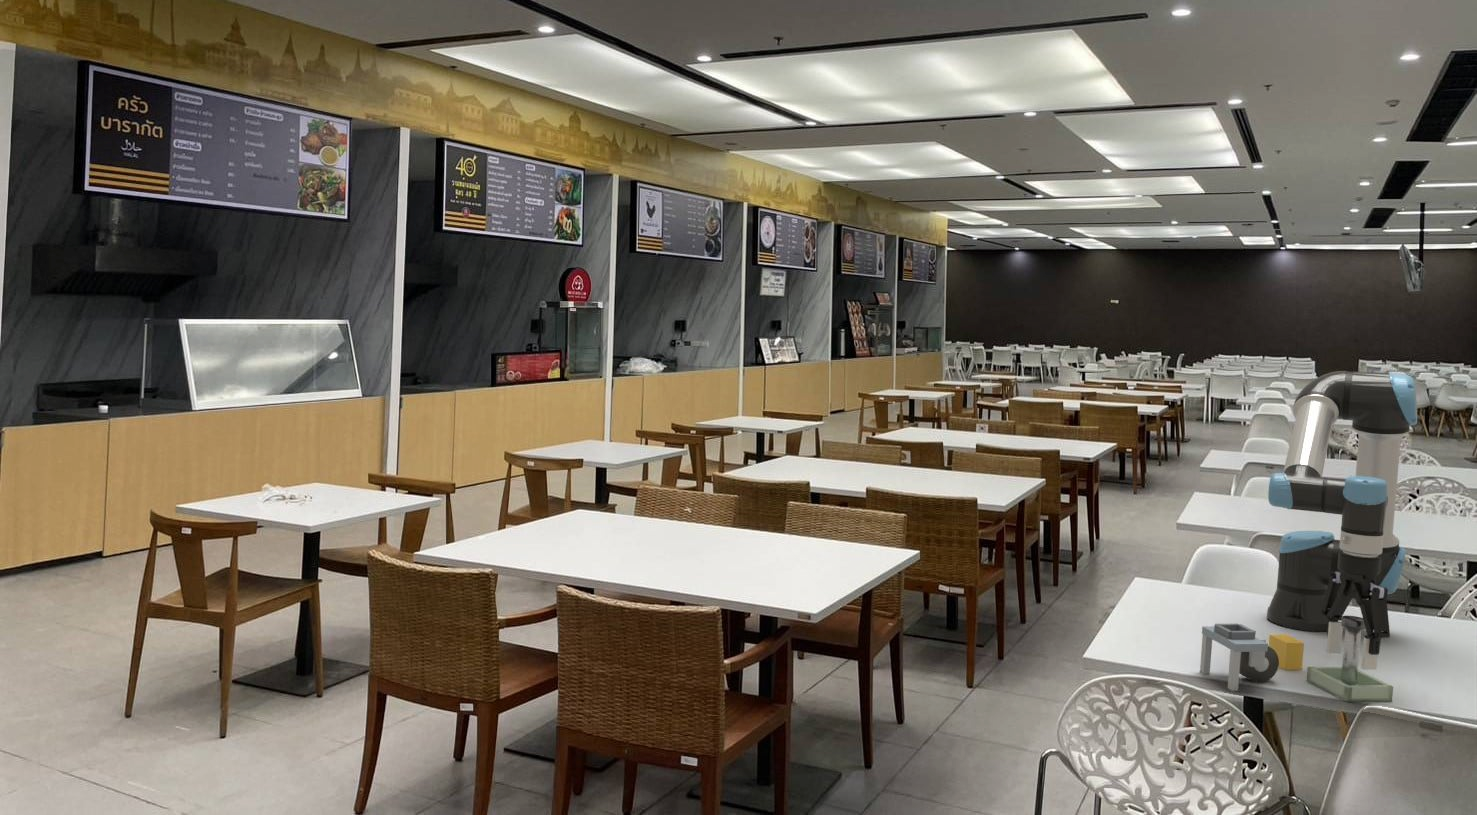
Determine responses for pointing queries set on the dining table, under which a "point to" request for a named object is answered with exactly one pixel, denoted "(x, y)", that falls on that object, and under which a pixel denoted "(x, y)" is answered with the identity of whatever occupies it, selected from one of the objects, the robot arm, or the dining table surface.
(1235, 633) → the cart
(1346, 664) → the pin
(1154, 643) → the dining table surface
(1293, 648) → the block
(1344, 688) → the tray
